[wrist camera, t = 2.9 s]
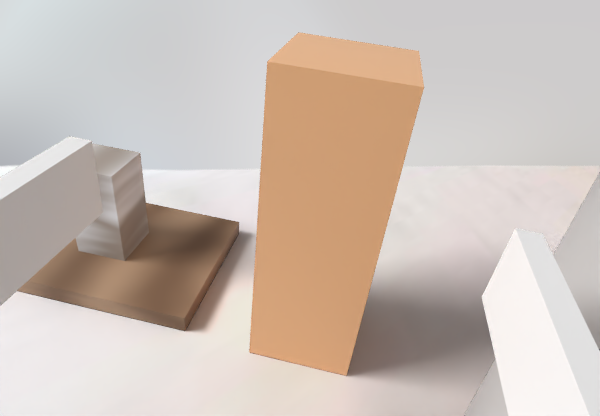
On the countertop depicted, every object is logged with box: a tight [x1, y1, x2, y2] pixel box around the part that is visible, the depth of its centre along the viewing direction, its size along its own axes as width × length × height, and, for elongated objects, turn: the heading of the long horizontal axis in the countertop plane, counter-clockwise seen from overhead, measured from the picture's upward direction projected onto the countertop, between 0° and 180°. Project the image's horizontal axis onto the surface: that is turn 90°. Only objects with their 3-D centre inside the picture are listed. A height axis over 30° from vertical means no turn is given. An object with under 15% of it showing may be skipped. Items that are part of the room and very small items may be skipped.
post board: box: [17, 144, 239, 331], centre depth 31 cm, size 16×11×8 cm
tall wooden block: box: [249, 33, 424, 376], centre depth 24 cm, size 6×6×18 cm
